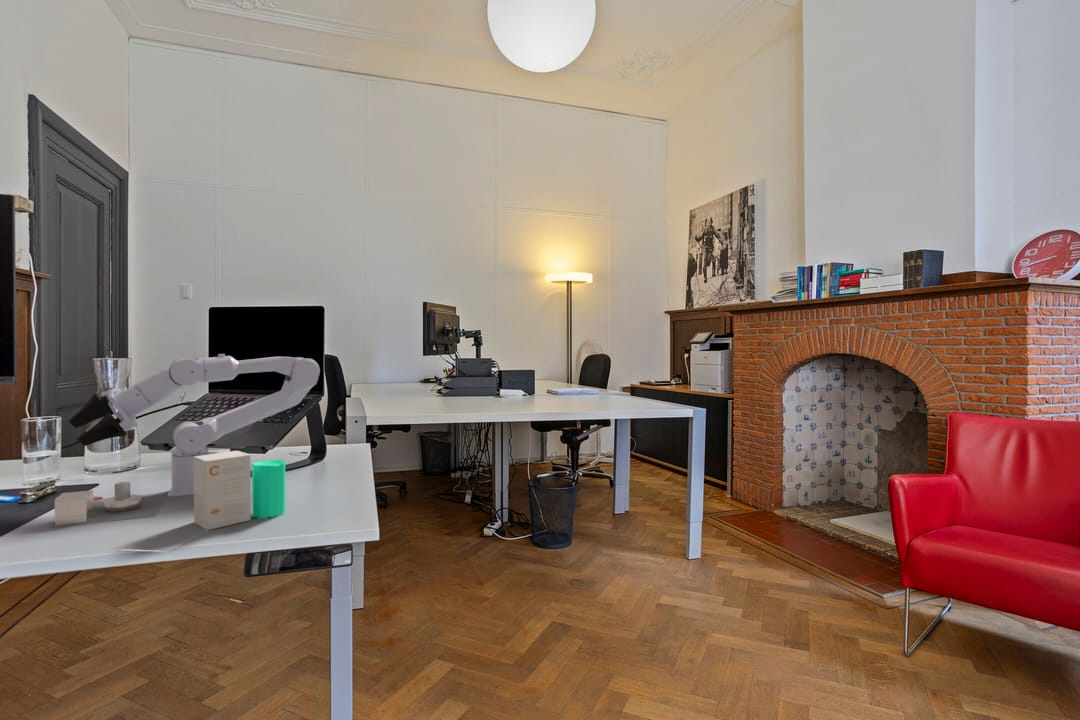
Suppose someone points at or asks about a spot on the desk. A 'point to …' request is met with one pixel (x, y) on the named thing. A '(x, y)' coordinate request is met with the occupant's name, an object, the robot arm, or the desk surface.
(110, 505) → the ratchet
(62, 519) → the pale grey cube
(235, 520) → the small box
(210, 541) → the desk surface
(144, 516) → the mat
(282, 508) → the candle
